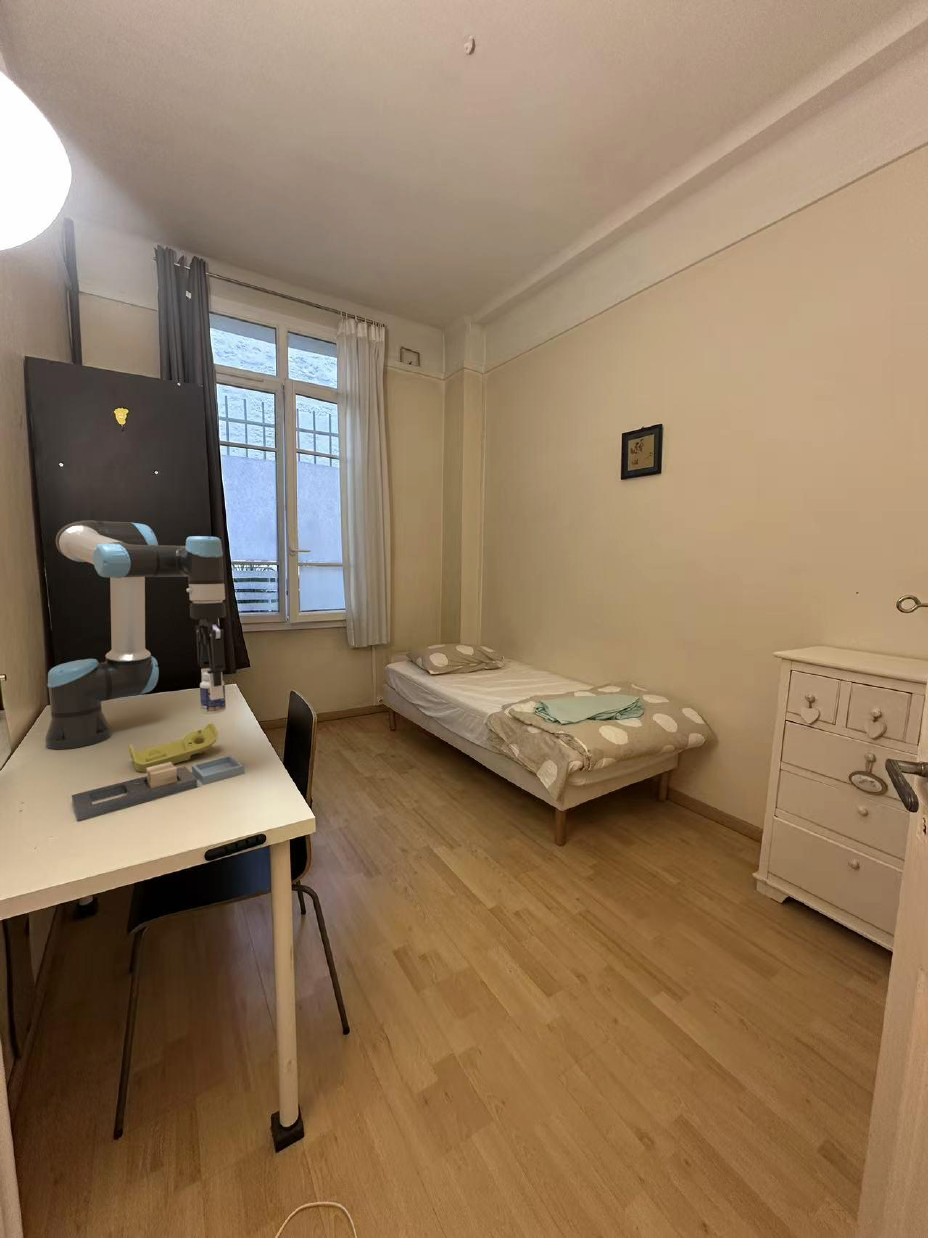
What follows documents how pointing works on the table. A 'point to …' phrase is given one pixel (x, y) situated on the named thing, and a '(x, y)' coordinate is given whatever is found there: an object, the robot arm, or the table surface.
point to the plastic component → (175, 749)
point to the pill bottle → (206, 703)
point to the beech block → (161, 775)
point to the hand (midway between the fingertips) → (212, 696)
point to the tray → (217, 769)
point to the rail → (128, 794)
